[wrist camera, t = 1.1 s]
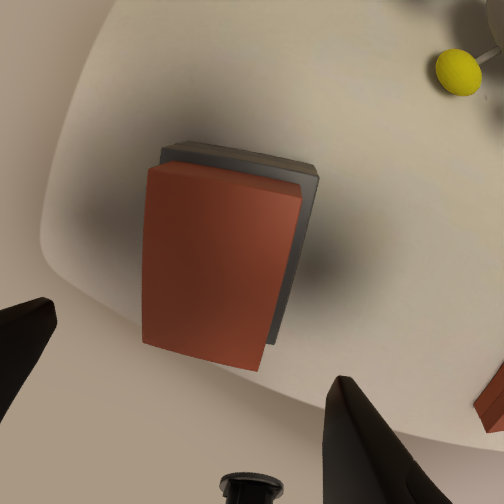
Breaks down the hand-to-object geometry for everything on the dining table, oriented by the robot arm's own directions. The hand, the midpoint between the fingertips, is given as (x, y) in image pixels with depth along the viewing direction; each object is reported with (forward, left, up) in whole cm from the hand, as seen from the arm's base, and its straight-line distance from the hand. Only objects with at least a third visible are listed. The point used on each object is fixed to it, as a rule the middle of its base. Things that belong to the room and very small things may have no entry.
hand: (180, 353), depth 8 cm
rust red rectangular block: (0, 0, -6) cm, 6 cm away
